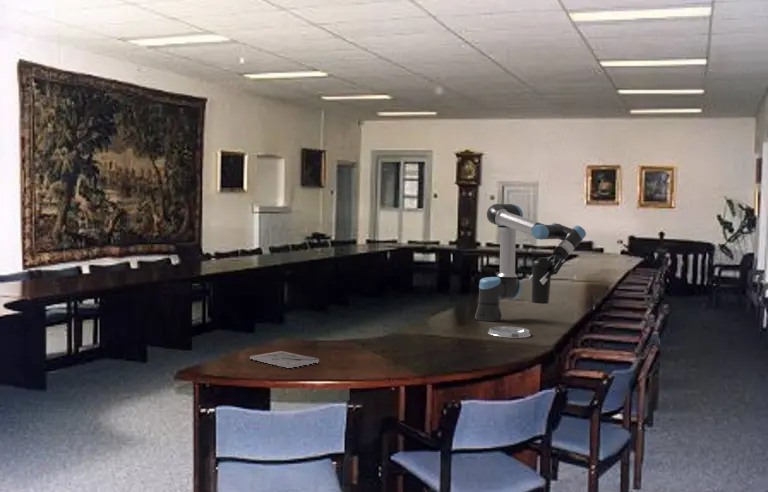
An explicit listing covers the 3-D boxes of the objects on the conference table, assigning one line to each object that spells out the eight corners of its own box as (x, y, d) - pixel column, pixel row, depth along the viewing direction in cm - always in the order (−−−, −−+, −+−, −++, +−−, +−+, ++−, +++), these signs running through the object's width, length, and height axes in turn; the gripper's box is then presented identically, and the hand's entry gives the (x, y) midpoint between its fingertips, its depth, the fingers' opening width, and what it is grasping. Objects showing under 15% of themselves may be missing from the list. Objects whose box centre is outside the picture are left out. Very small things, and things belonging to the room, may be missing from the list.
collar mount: (482, 330, 402) (482, 325, 402) (522, 330, 405) (522, 326, 405) (495, 337, 381) (495, 332, 381) (536, 338, 385) (536, 332, 384)
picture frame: (318, 364, 309) (280, 356, 323) (319, 358, 309) (281, 350, 323) (287, 370, 296) (249, 361, 310) (288, 364, 296) (250, 355, 310)
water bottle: (549, 301, 409) (551, 257, 407) (551, 304, 399) (553, 259, 397) (529, 300, 410) (531, 256, 408) (531, 303, 400) (533, 258, 398)
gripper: (546, 243, 417) (519, 274, 411) (572, 246, 397) (544, 278, 391) (554, 254, 419) (527, 284, 414) (580, 257, 399) (552, 289, 394)
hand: (536, 281), depth 403 cm, fingers closed on water bottle, 9 cm apart
